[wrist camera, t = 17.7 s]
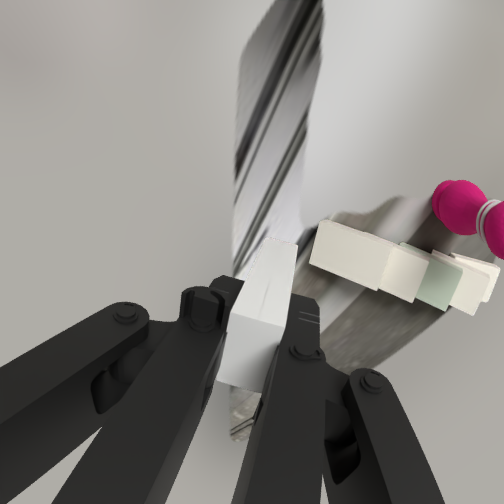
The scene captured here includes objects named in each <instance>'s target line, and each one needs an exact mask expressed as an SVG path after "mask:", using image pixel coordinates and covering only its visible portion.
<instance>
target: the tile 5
mask: <svg viewBox="0 0 504 504" xmlns="http://www.w3.org/2000/svg"><path fill="white" fill-rule="evenodd" d="M450 257H452V258H454V259H456V260H458V261H461V262H463V263H465V264H467V265H469V266H472V267H474V268H476V269H478V270H480V271H482V272H484V273H486V274H489V276H490V281H489V284H488V286H487V288H486V291H485V293H484V295H483V297H482V299H481V301H482V302H488V300H489V298H490V295H491V293H492V290H493V288H494V285H495V283H496V280H497V278H498V275H499V272H500V268H499V267H497V266H496V265H495V264H491V263H488V262H484V261H480V260H477V259H473V258H469V257H466V256H462V255H458V254H455V253H450Z"/></svg>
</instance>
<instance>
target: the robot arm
mask: <svg viewBox="0 0 504 504" xmlns="http://www.w3.org/2000/svg"><path fill="white" fill-rule="evenodd" d="M297 249H298V245H295V244H291V243H287V242H284V241H280V240H276V239H273V238H269V237H266V238H265V240H264V242H263V245H262V247H261V249H260V251H259V253H258V255H257V257H256V259H255V261H254V264H253V266H252V268H251V270H250V272H249V274H248V276H247V278H246V280H245V281H242V280H239V279H235V278H232V277H228V276H225V275H222V276H220V277H218V278H216V279H214V280H213V281H212V283H211V284H210V286H209V287H203V286H195V287H191V288H187V289H186V290H184V291H183V292H182V295H181V304H180V315H179V318H178V319H177V321H174V322H162V321H154V320H149V314H148V312H147V310H146V309H144V308H143V307H142V306H141V305H138V304H136V303H131V302H117V303H114V304H112V305H109V306H107V307H106V308H104V309H102V310H100V311H99V312H97V313H95V314H93V315H91V316H89V317H88V318H86V319H84V320H83V321H81V322H79V323H77V324H75V325H73V326H72V327H70V328H68V329H67V330H65V331H63V332H61V333H59V334H58V335H56V336H54V337H52V338H50V339H49V340H47V341H45V342H43V343H42V344H40V345H38V346H37V347H35V348H33V349H31V350H30V351H28V352H26V353H24V354H23V355H21V356H19V357H17V358H16V359H14V360H12V361H11V362H9V363H7V364H6V365H4V366H2V367H0V504H7V503H8V502H9V501H11V500H12V499H13V498H14V497H16V496H17V495H18V494H20V493H21V492H22V491H24V490H25V489H26V488H27V487H29V486H30V485H31V484H32V483H34V482H35V481H36V480H37V479H39V478H40V477H41V476H43V475H44V474H45V473H46V472H47V471H49V470H50V469H51V468H52V467H54V466H55V465H56V464H57V463H59V462H60V461H61V460H62V459H63V458H65V457H66V456H67V455H68V454H70V453H71V452H72V451H73V450H74V449H76V448H77V447H78V446H79V445H80V444H82V443H83V442H84V441H85V440H86V439H88V438H89V437H90V436H91V435H92V434H94V433H95V432H96V431H97V430H98V429H99V428H101V427H102V428H101V429H100V431H99V432H98V434H97V435H96V437H95V438H94V440H93V441H92V443H91V444H90V446H89V447H88V449H87V450H86V452H85V453H84V455H83V456H82V458H81V459H80V461H79V462H78V464H77V465H76V467H75V468H74V470H73V471H72V473H71V474H70V476H69V477H68V479H67V480H66V482H65V484H64V485H63V486H62V488H61V490H60V491H59V493H58V494H57V496H56V497H55V499H54V500H53V502H52V504H165V502H166V500H167V497H168V495H169V493H170V491H171V488H172V486H173V484H174V481H175V479H176V477H177V474H178V472H179V470H180V467H181V465H182V463H183V460H184V458H185V455H186V453H187V450H188V448H189V446H190V443H191V441H192V439H193V436H194V434H195V431H196V429H197V427H198V424H199V422H200V419H201V417H202V415H203V412H204V409H205V407H206V405H207V403H208V400H209V398H210V395H211V393H212V388H213V383H214V380H215V378H216V380H217V381H220V382H223V383H226V384H230V385H233V386H236V387H240V388H243V389H247V390H251V391H254V392H258V393H262V395H261V398H260V401H259V403H258V406H257V408H256V411H255V413H254V416H253V420H254V422H253V426H252V430H251V433H250V437H249V441H248V445H247V449H246V453H245V456H244V460H243V463H242V467H241V471H240V474H239V478H238V482H237V485H236V488H235V492H234V495H233V499H232V502H231V504H320V498H321V486H322V473H323V478H324V483H325V487H326V492H327V497H328V502H329V504H445V502H444V500H443V497H442V495H441V492H440V490H439V487H438V485H437V483H436V480H435V478H434V475H433V473H432V471H431V468H430V466H429V464H428V462H427V459H426V457H425V455H424V452H423V450H422V448H421V446H420V444H419V441H418V439H417V437H416V435H415V432H414V430H413V428H412V426H411V424H410V422H409V420H408V418H407V415H406V413H405V411H404V409H403V407H402V405H401V403H400V401H399V399H398V397H397V395H396V393H395V391H394V389H393V387H392V385H391V383H390V382H389V380H388V379H387V378H386V377H385V376H384V375H382V374H381V373H379V372H377V371H375V370H373V369H368V368H360V369H356V370H355V371H353V372H352V373H351V375H350V376H349V375H347V374H345V373H343V372H340V371H338V370H336V369H335V368H333V367H331V366H330V365H329V364H328V363H326V358H325V354H324V352H323V351H322V349H321V348H320V324H319V323H320V317H319V316H320V309H319V306H318V304H317V303H316V301H315V300H314V299H311V298H308V297H304V296H300V295H297V294H293V293H291V289H292V283H293V276H294V269H295V263H296V256H297ZM216 376H217V377H216Z"/></svg>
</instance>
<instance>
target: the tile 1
mask: <svg viewBox="0 0 504 504" xmlns="http://www.w3.org/2000/svg"><path fill="white" fill-rule="evenodd" d="M393 247H394V243H391V242H389V241H386V240H383V239H381V238H378V237H375V236H372V235H370V234H367V233H364V232H361V231H359V230H356V229H353V228H350V227H347V226H345V225H342V224H339V223H336V222H333V221H330V220H327V219H325V220H322V221H320V222H319V226H318V230H317V234H316V238H315V242H314V245H313V249H312V253H311V257H310V261H309V263H310V264H312V265H315V266H317V267H319V268H322V269H324V270H327V271H329V272H332V273H334V274H336V275H339V276H341V277H344V278H346V279H349V280H351V281H353V282H356V283H358V284H361V285H363V286H366V287H368V288H370V289H373V290H375V291H377V290H378V288H379V287H380V285H381V282H382V279H383V277H384V274H385V271H386V268H387V265H388V262H389V259H390V256H391V253H392V250H393Z"/></svg>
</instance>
